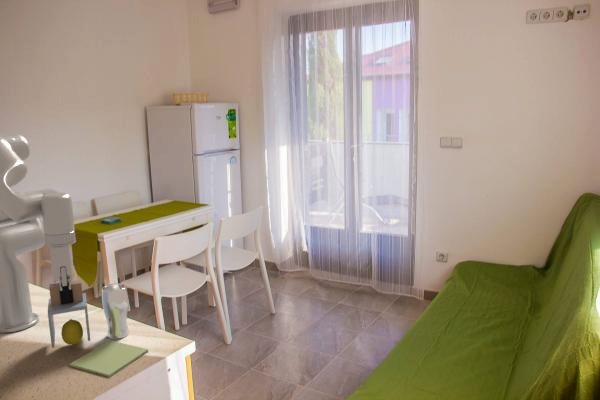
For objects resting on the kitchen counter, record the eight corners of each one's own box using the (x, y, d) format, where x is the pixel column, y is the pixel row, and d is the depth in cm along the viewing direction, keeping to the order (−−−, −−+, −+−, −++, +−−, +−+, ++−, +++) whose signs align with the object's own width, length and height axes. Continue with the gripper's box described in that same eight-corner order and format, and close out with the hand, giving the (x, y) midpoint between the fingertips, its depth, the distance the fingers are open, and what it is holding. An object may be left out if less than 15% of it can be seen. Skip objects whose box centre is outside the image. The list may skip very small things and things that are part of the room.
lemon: (76, 351, 136) (73, 324, 134) (58, 349, 137) (55, 323, 135) (88, 341, 141) (85, 315, 139) (71, 340, 142) (68, 314, 140)
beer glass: (100, 338, 143) (95, 290, 140) (117, 328, 149) (112, 281, 146) (120, 341, 140) (114, 292, 137) (135, 331, 147) (131, 284, 144)
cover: (52, 332, 141) (46, 280, 138) (88, 325, 145) (83, 275, 142) (51, 348, 132) (45, 292, 129) (90, 340, 136) (84, 286, 133)
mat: (70, 365, 128) (69, 363, 128) (110, 342, 140) (110, 340, 140) (109, 377, 122) (109, 375, 122) (148, 351, 134) (148, 349, 134)
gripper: (46, 232, 138) (53, 292, 142) (43, 247, 124) (51, 314, 128) (75, 229, 141) (81, 288, 145) (75, 244, 127) (82, 309, 131)
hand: (67, 300), depth 136 cm, fingers closed on cover, 3 cm apart
